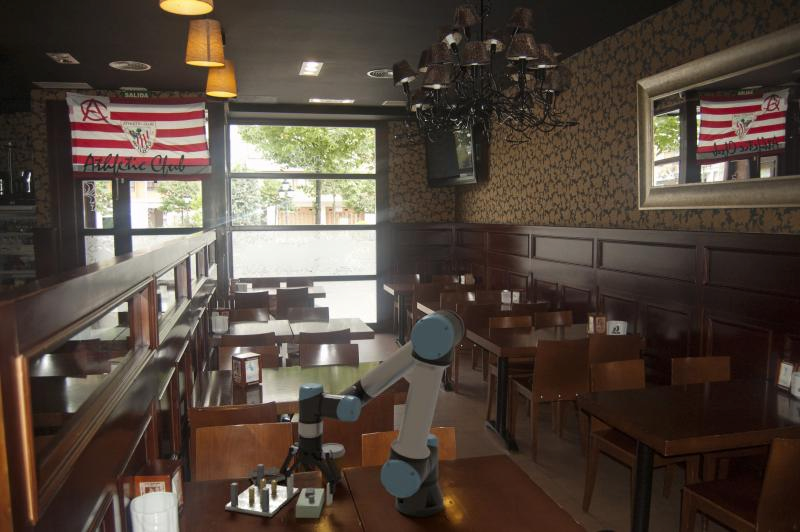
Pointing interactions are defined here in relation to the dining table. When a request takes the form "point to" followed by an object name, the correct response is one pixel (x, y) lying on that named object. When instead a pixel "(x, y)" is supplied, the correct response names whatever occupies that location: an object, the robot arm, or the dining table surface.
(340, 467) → the disposable coffee cup
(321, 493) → the board
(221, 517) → the dining table surface
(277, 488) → the chassis
